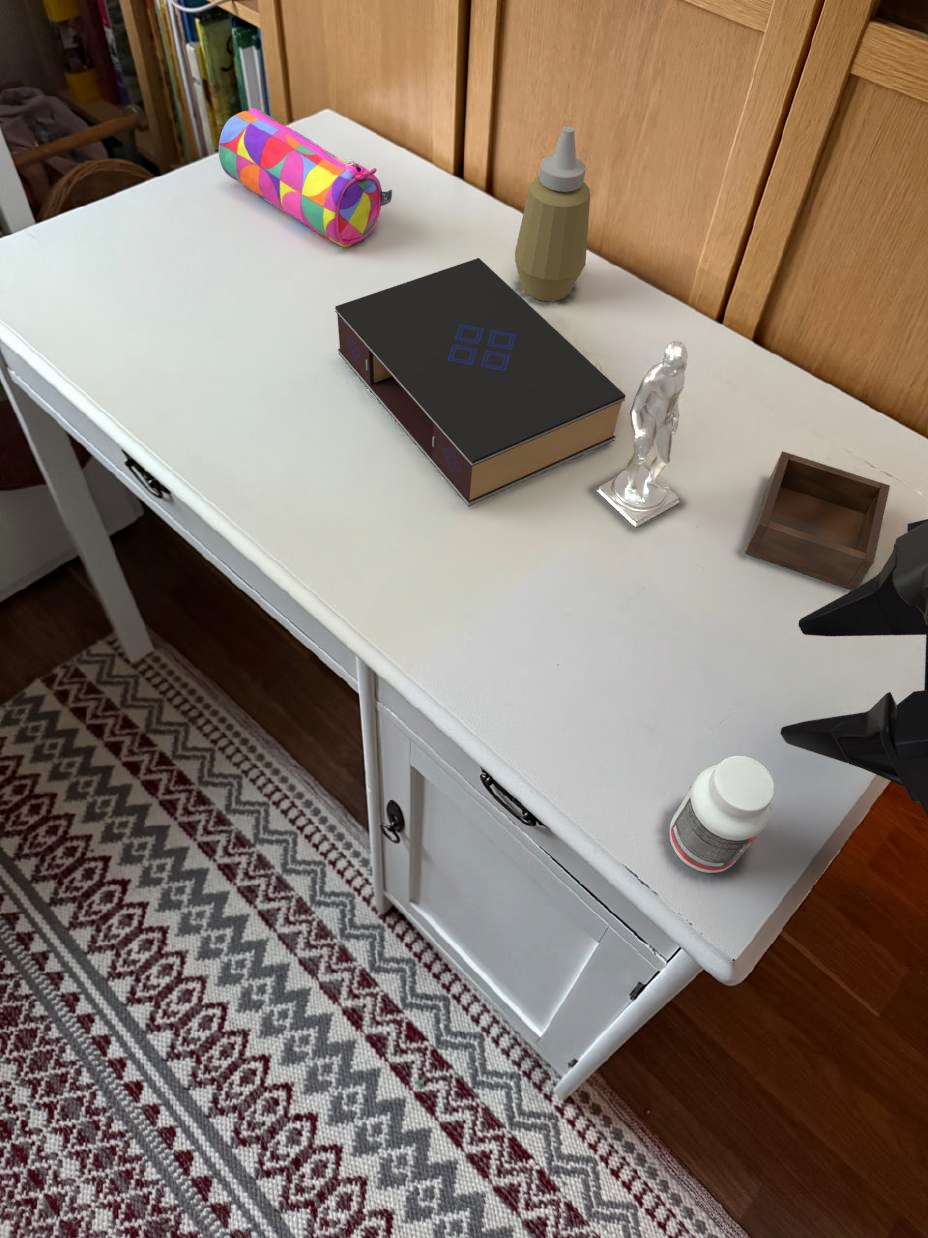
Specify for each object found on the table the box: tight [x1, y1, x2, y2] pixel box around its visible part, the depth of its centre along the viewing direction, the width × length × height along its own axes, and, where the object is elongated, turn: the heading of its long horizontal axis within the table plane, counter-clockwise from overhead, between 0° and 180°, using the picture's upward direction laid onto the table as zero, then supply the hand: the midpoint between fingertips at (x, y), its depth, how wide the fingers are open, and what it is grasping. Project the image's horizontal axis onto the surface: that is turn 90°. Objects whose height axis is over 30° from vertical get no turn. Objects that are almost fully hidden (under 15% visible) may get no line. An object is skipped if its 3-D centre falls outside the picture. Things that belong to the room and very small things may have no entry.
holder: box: [744, 450, 891, 591], centre depth 83 cm, size 10×10×4 cm
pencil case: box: [218, 107, 393, 248], centre depth 108 cm, size 22×9×9 cm, turn 51°
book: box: [334, 257, 626, 508], centre depth 90 cm, size 17×25×7 cm
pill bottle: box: [669, 755, 776, 874], centre depth 63 cm, size 5×5×10 cm
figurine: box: [595, 340, 689, 528], centre depth 79 cm, size 8×7×18 cm
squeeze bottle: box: [514, 125, 591, 302], centre depth 98 cm, size 8×8×18 cm
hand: (792, 678), depth 56 cm, fingers open, 9 cm apart
